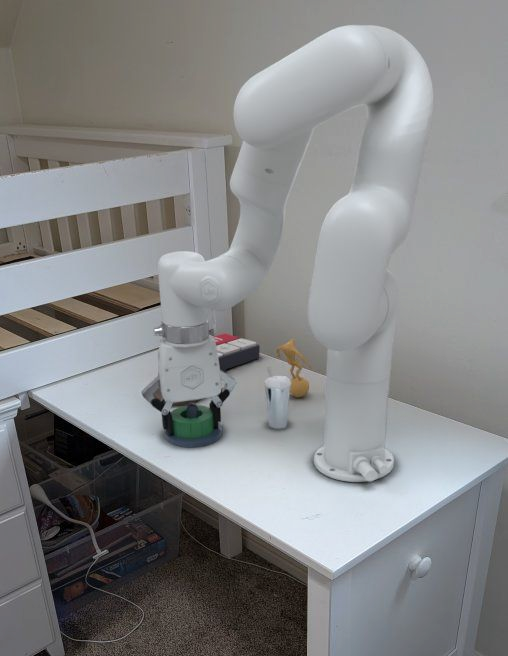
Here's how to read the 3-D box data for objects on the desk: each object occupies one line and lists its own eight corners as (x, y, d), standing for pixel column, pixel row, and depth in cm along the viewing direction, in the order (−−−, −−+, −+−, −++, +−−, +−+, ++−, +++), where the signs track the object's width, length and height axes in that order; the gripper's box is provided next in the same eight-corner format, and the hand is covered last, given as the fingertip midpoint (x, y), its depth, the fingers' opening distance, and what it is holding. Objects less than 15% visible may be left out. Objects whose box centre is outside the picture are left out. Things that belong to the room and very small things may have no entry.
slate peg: (228, 442, 127) (227, 410, 124) (171, 451, 125) (168, 419, 122) (214, 419, 136) (212, 388, 133) (160, 427, 134) (157, 396, 131)
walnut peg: (209, 401, 143) (207, 372, 140) (158, 408, 141) (155, 379, 138) (197, 382, 151) (195, 354, 148) (149, 389, 149) (146, 361, 146)
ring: (218, 435, 128) (217, 419, 126) (175, 441, 126) (174, 425, 125) (208, 417, 134) (207, 402, 133) (167, 423, 132) (166, 408, 131)
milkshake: (280, 416, 136) (280, 364, 131) (295, 427, 132) (295, 374, 127) (258, 421, 134) (257, 369, 129) (272, 433, 130) (272, 379, 125)
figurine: (321, 399, 142) (323, 338, 136) (300, 408, 138) (300, 347, 133) (290, 387, 147) (290, 329, 141) (268, 396, 144) (267, 337, 138)
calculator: (260, 341, 161) (210, 357, 151) (260, 360, 163) (210, 377, 153) (224, 331, 167) (174, 345, 158) (224, 349, 169) (175, 365, 160)
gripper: (136, 344, 116) (146, 445, 125) (243, 332, 120) (246, 430, 129) (129, 330, 123) (139, 427, 131) (231, 318, 126) (234, 413, 135)
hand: (192, 428), depth 130 cm, fingers closed on ring, 7 cm apart
